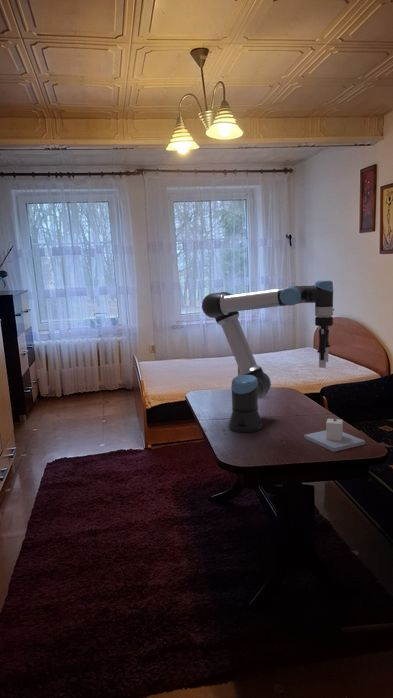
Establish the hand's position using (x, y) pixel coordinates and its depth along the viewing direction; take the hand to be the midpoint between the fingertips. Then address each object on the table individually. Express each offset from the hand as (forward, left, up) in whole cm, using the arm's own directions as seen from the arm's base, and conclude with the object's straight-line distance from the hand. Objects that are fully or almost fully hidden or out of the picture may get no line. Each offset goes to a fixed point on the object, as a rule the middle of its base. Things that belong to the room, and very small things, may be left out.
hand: (323, 364), depth 202 cm
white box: (-8, -16, -27) cm, 33 cm away
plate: (-8, -16, -29) cm, 34 cm away
